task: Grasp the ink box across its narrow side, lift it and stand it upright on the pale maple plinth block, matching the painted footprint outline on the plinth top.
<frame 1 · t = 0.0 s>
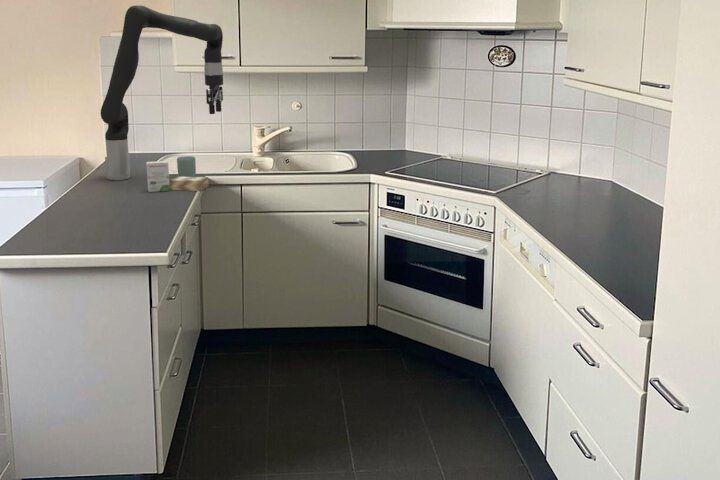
hand: (215, 112, 360), 29 cm above the counter, fingers open, 8 cm apart
ink box: (158, 190, 349), on the counter
plinth: (189, 188, 353), on the counter
cup: (187, 181, 369), on the counter
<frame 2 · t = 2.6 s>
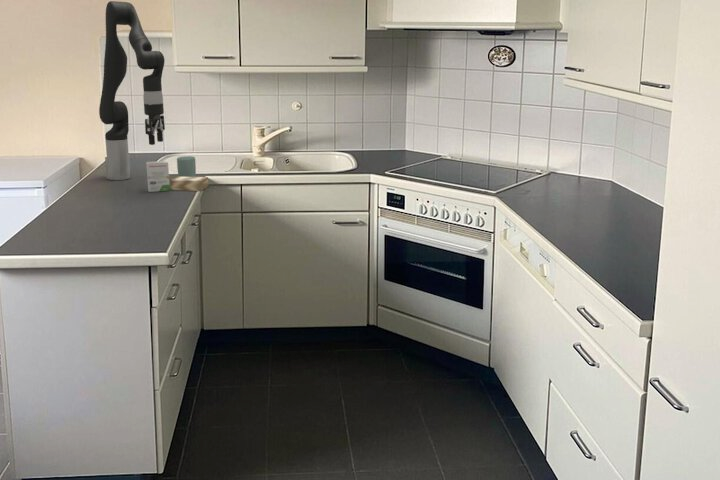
hand: (156, 143, 344), 19 cm above the counter, fingers open, 8 cm apart
nothing on the counter moved.
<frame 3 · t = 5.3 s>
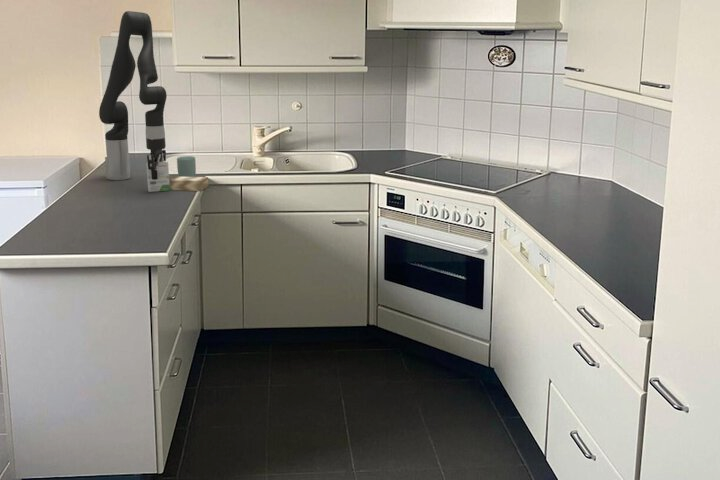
hand: (158, 177, 347), 5 cm above the counter, fingers closed on ink box, 6 cm apart
ink box: (158, 190, 349), on the counter, touching gripper
everything else where it was.
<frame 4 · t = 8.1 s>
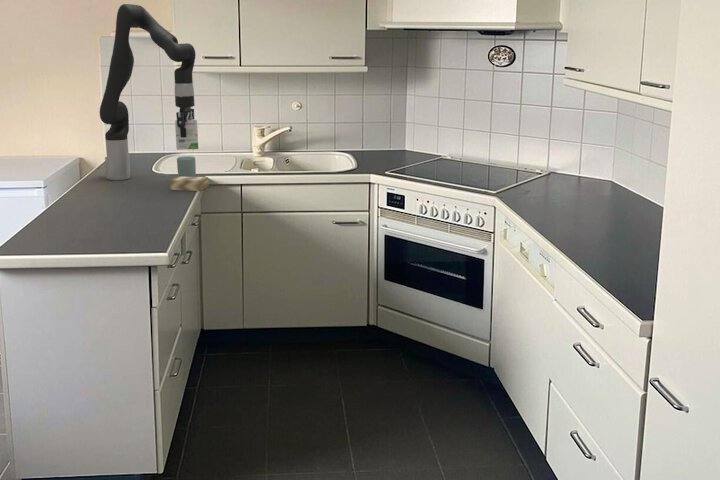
hand: (186, 136, 347), 22 cm above the counter, fingers closed on ink box, 6 cm apart
ink box: (187, 149, 349), point 16 cm above the counter, touching gripper
everything else where it was.
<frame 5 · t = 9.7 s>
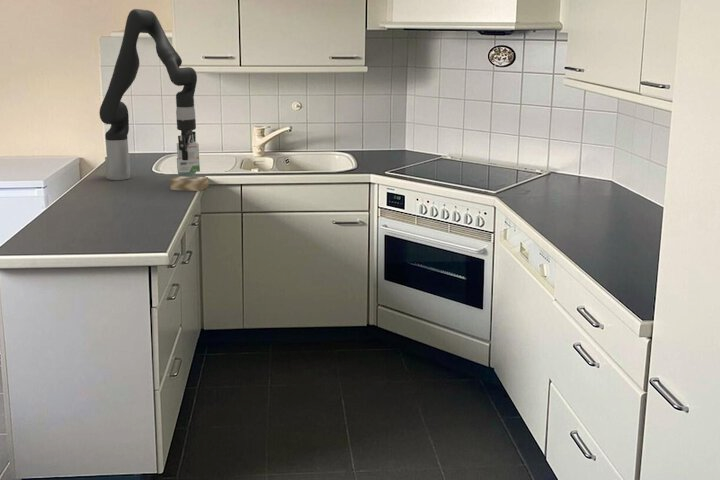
hand: (188, 158, 350), 12 cm above the counter, fingers closed on ink box, 6 cm apart
ink box: (188, 171, 351), point 7 cm above the counter, touching gripper
everything else where it was.
when the fingers open (10 cm above the counter, at t = 11.2 s): ink box stays where it is, resting on plinth.
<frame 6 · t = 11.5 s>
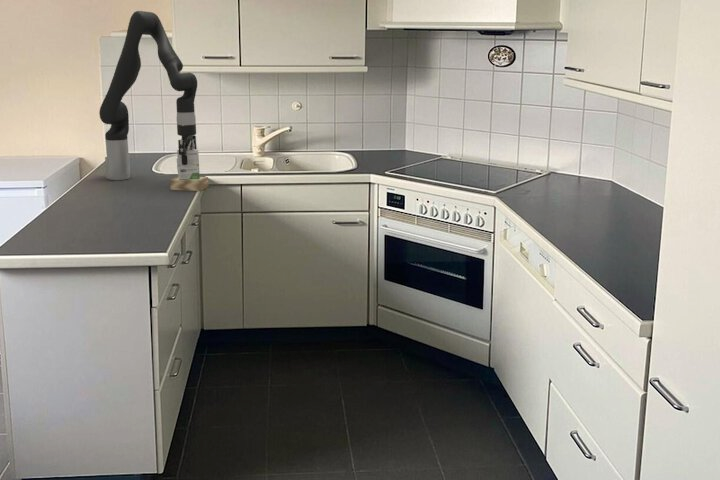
hand: (188, 162, 350), 11 cm above the counter, fingers open, 8 cm apart
ink box: (189, 178, 352), point 4 cm above the counter, touching plinth
everything else where it was.
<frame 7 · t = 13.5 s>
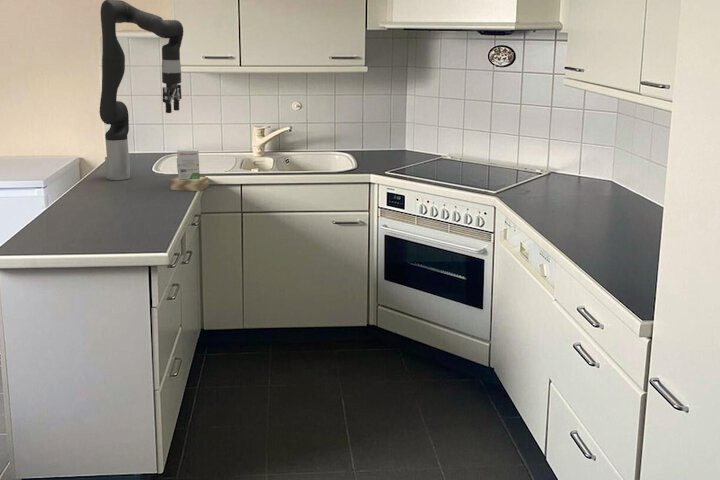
hand: (172, 111, 348), 31 cm above the counter, fingers open, 8 cm apart
nothing on the counter moved.
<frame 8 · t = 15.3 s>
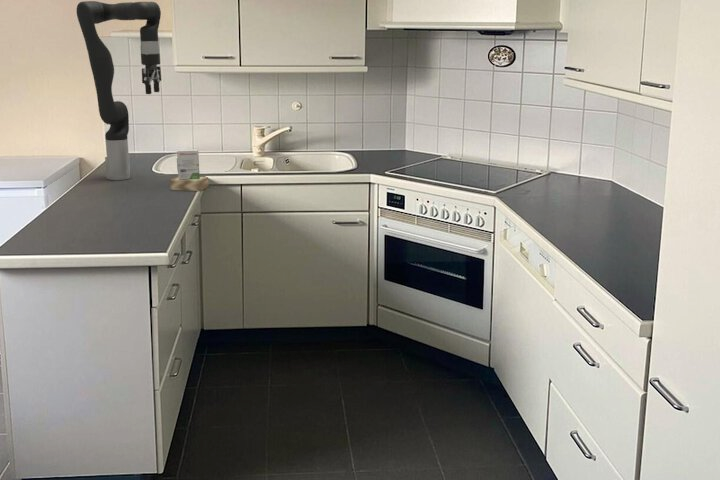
hand: (152, 93, 351), 38 cm above the counter, fingers open, 8 cm apart
nothing on the counter moved.
at the end: ink box inside the target area on the plinth (0.3 cm from its centre), point 3.9 cm above the plinth's base; ink box tilted 0°; the gripper is holding nothing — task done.
